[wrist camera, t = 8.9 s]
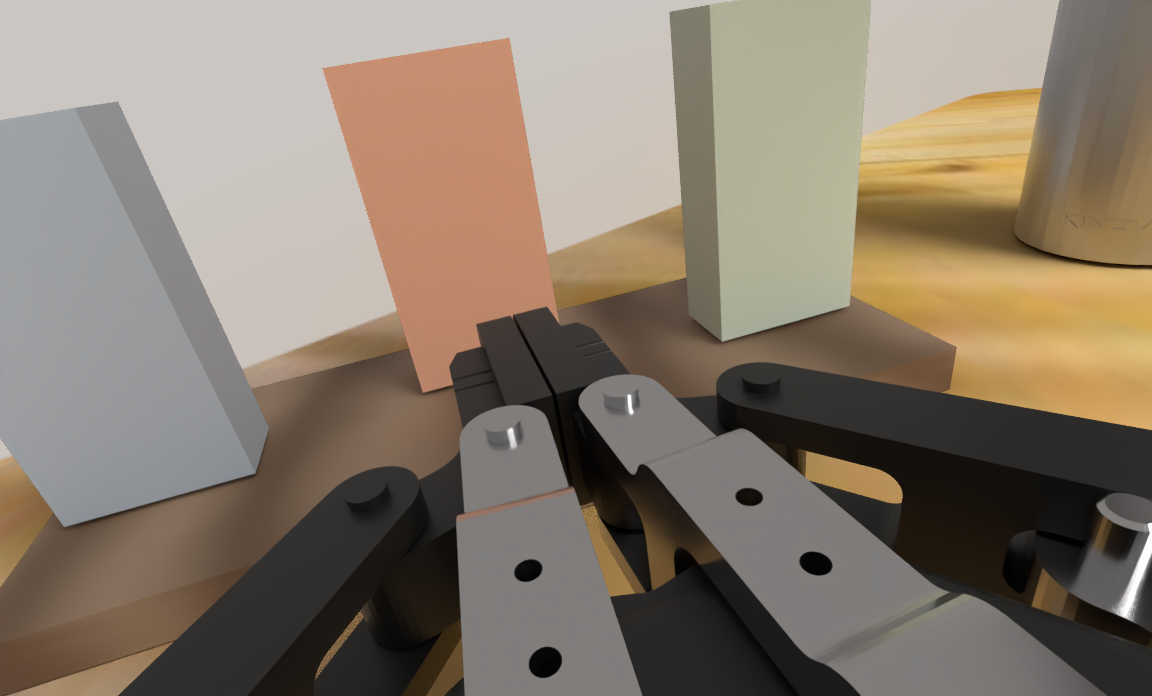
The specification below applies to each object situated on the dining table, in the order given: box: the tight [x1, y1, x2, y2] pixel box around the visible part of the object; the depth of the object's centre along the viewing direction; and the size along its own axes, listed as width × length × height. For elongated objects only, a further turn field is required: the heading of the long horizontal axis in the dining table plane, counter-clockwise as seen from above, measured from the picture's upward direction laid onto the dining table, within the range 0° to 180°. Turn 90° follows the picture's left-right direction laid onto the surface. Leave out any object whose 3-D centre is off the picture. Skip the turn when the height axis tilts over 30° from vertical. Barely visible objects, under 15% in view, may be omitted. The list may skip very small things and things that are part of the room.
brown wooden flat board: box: [0, 278, 957, 696], centre depth 25 cm, size 32×12×2 cm, turn 107°
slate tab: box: [0, 102, 269, 527], centre depth 19 cm, size 6×3×12 cm, turn 107°
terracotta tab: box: [323, 38, 559, 393], centre depth 23 cm, size 6×3×12 cm, turn 107°
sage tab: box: [670, 0, 871, 342], centre depth 24 cm, size 6×3×12 cm, turn 107°
